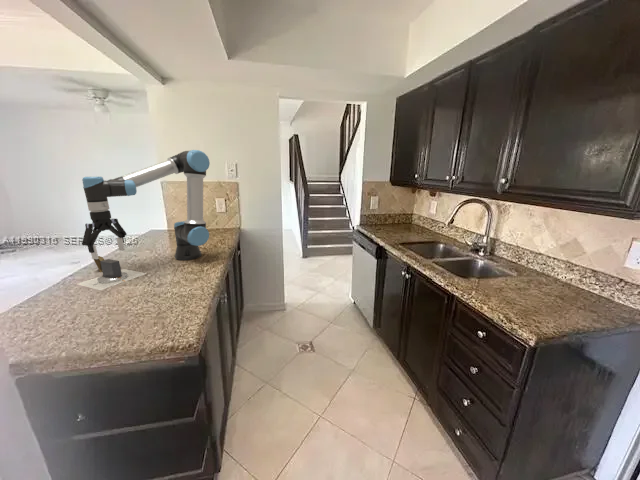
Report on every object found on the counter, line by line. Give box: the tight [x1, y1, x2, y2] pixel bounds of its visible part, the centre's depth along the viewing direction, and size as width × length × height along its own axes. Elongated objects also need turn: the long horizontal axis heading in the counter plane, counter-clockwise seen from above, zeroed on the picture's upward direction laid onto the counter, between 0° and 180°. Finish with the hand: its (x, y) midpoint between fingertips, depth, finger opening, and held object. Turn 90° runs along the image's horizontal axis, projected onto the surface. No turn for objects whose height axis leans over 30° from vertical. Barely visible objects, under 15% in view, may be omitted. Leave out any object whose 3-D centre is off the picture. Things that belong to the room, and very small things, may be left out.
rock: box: [93, 255, 105, 273], centre depth 146 cm, size 11×9×10 cm
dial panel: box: [76, 268, 147, 291], centre depth 133 cm, size 22×18×2 cm
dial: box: [97, 258, 128, 283], centre depth 132 cm, size 12×12×9 cm
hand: (109, 254), depth 131 cm, fingers open, 13 cm apart
